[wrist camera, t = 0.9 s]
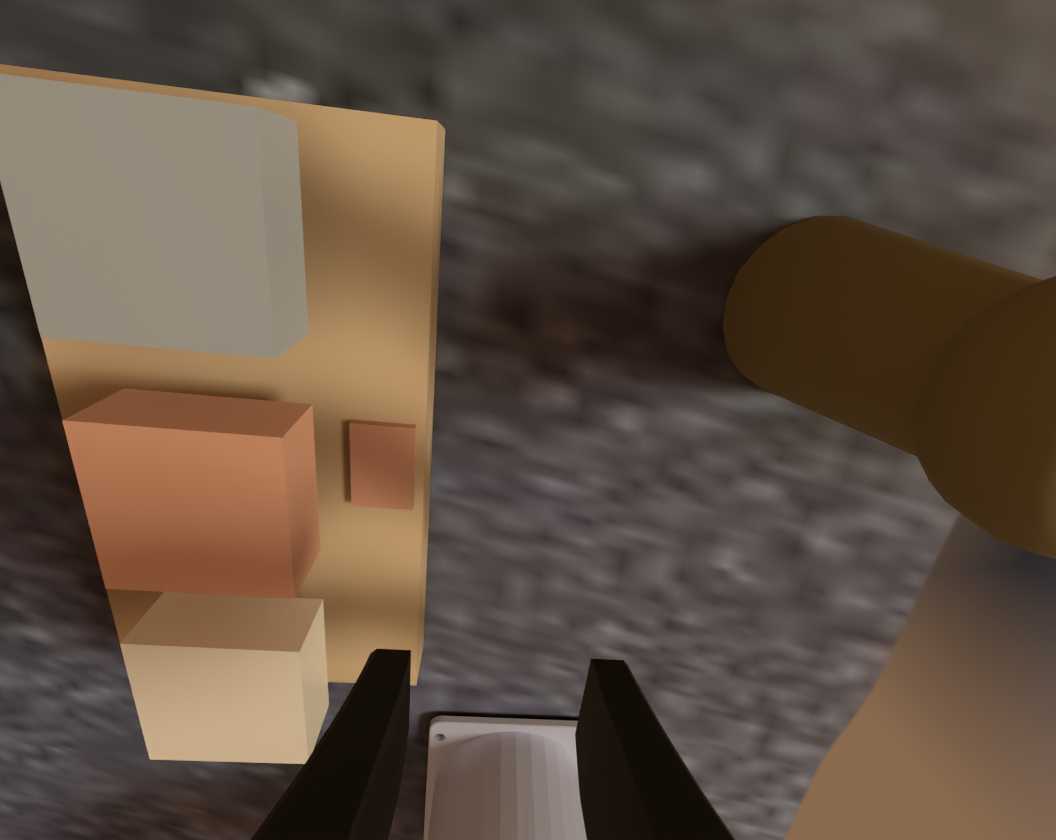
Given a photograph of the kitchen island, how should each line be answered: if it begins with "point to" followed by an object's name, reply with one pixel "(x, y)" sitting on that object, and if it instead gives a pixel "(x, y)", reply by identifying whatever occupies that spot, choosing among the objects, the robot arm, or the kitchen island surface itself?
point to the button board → (329, 366)
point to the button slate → (155, 217)
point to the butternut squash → (912, 360)
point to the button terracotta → (198, 492)
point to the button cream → (229, 677)
